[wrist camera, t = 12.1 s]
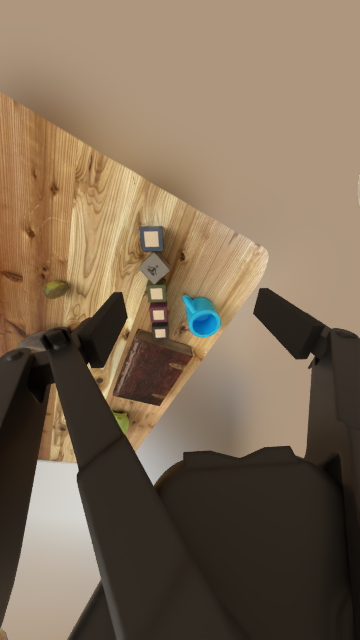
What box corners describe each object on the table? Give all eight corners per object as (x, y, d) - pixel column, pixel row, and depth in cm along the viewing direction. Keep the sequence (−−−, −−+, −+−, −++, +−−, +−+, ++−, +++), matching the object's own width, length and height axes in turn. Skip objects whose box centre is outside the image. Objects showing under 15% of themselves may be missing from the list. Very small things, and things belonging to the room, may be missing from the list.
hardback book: (137, 328, 49) (134, 338, 44) (190, 346, 54) (192, 356, 49) (115, 384, 62) (111, 396, 57) (160, 394, 67) (159, 406, 62)
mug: (218, 310, 47) (226, 325, 40) (197, 325, 49) (201, 342, 42) (194, 281, 42) (198, 292, 35) (171, 300, 44) (171, 313, 37)
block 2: (165, 279, 41) (165, 284, 37) (166, 295, 44) (166, 302, 40) (148, 279, 41) (146, 285, 37) (150, 295, 43) (148, 302, 39)
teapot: (122, 428, 79) (114, 460, 69) (95, 423, 75) (82, 456, 65) (137, 408, 71) (131, 441, 60) (107, 401, 67) (95, 435, 56)
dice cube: (141, 263, 39) (137, 268, 35) (155, 249, 37) (153, 252, 33) (155, 278, 41) (154, 284, 37) (169, 265, 39) (169, 270, 35)
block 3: (166, 300, 44) (166, 307, 40) (167, 314, 47) (167, 322, 43) (151, 300, 44) (149, 307, 40) (152, 314, 46) (151, 322, 43)
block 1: (162, 226, 35) (161, 226, 31) (163, 248, 37) (163, 250, 33) (142, 226, 35) (138, 226, 31) (144, 248, 37) (142, 251, 33)
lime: (69, 279, 40) (57, 286, 36) (71, 296, 42) (60, 304, 38) (50, 276, 39) (35, 282, 35) (53, 294, 42) (40, 301, 37)
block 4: (167, 318, 47) (167, 326, 44) (168, 330, 50) (168, 339, 46) (153, 318, 47) (151, 327, 43) (154, 331, 50) (153, 340, 46)
